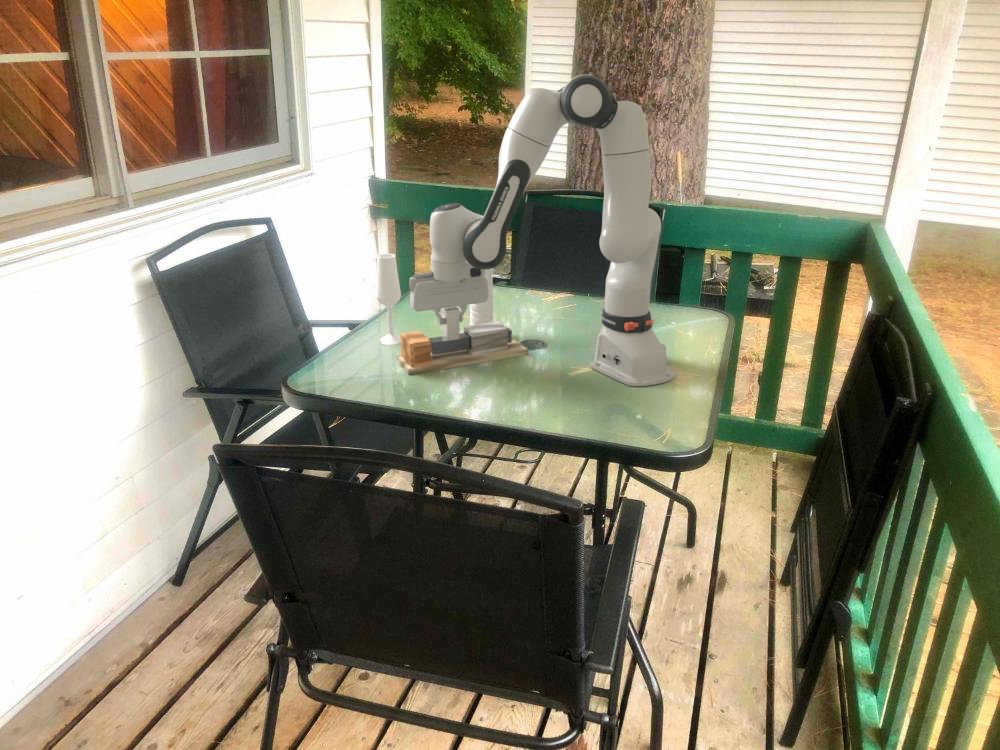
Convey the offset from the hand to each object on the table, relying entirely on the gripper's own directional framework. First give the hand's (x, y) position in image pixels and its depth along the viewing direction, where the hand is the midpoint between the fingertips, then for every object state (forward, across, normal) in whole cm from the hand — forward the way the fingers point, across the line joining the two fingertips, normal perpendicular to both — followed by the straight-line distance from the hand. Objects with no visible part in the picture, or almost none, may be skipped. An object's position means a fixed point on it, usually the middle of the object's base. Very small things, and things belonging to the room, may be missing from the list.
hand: (450, 322), depth 197 cm
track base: (+10, +3, 0) cm, 11 cm away
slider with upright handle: (+7, +6, 0) cm, 9 cm away
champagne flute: (+10, -10, +20) cm, 25 cm away
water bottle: (+10, +15, +13) cm, 22 cm away
